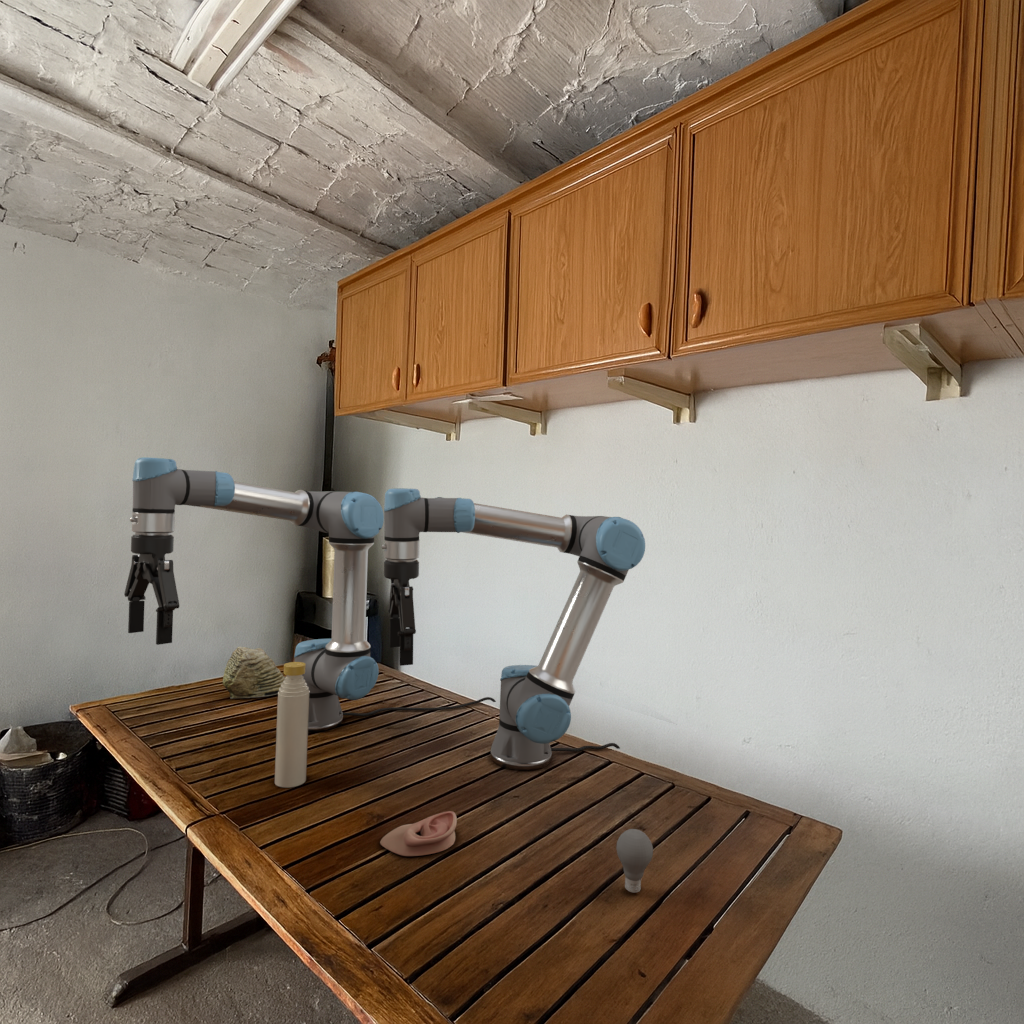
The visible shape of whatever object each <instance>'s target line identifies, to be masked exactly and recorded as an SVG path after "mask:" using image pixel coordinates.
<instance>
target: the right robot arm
mask: <svg viewBox="0 0 1024 1024" xmlns="http://www.w3.org/2000/svg"><path fill="white" fill-rule="evenodd" d="M383 514H384V522H383V529H384V530H383V535H384V536H383V538H384V539H383V540H384V541H383V542H384V544H381V549H382V550H384V551H383V553H384V554H383V557H384V558H385V561H384V562H383V576H384V578H386V579H388V580H390V589H389V598H388V599H389V601H388V608H387V612H388V616H389V648H399V666H400V667H401V666H402V667H403V666H412V665H414V635H415V634H416V633H417V629H416V619H415V618H416V617H415V607H414V587H413V586H412V585H411V586H410V580H414V579H417V578H418V577H419V575H420V561H419V560H418V559H419V558H420V543H421V542H420V541H421V540H420V533H456V534H460V533H463V534H469V535H475V536H481V537H488V538H495V539H502V540H507V541H513V542H520V543H525V544H526V543H527V544H533V545H538V546H543V547H544V546H545V547H552V548H557V550H558V551H559V553H563V554H569V555H573V556H576V557H578V559H577V561H576V562H577V565H578V568H579V573H578V575H577V578H576V580H575V581H574V584H573V587H572V589H571V591H570V593H569V596H568V598H567V600H566V602H565V605H564V607H563V609H562V611H561V614H560V616H559V618H558V621H557V623H556V625H555V627H554V629H553V632H552V634H551V636H550V639H549V641H548V643H547V645H546V648H545V650H544V652H543V653H542V657H541V659H540V661H539V663H538V665H533V664H514V665H508V666H505V667H503V668H502V669H501V673H500V674H501V675H500V693H499V717H498V718H499V719H498V727H497V730H496V733H495V736H494V739H493V741H492V744H491V746H490V756H489V757H490V760H491V762H493V763H494V764H495V765H497V766H500V767H502V768H504V769H508V770H514V771H534V770H539V769H542V768H545V767H547V766H549V765H550V763H551V762H552V753H553V752H569V753H576V752H581V751H584V750H596V751H597V750H599V751H600V750H605V749H608V748H610V747H614V748H615V749H618V750H619V749H621V747H620V746H619V744H617V743H615V742H609V743H607V744H603V745H599V746H598V745H583V746H580V747H576V748H575V747H574V748H573V747H572V748H571V747H551V745H550V744H551V743H553V742H555V741H558V740H559V739H560V738H562V737H563V736H565V734H566V733H567V731H568V730H569V727H570V725H571V723H572V722H571V721H572V713H571V708H570V705H571V703H572V701H573V699H574V696H575V694H576V689H575V687H574V683H573V682H574V679H575V677H576V675H577V672H578V671H579V668H580V665H581V663H582V661H583V659H584V657H585V654H586V651H587V649H588V647H589V646H590V642H591V641H592V638H593V636H594V633H595V631H596V629H597V626H598V624H599V622H600V620H601V617H602V615H603V612H604V610H605V609H606V606H607V604H608V601H609V599H610V597H611V595H612V592H613V590H614V588H615V587H616V586H618V585H620V584H623V583H624V582H625V580H626V578H627V575H628V572H629V571H630V570H631V569H634V568H635V567H637V566H638V565H639V564H640V563H641V561H642V559H643V558H644V556H645V552H646V539H645V537H644V534H643V531H642V529H640V527H639V526H638V525H637V524H636V523H635V522H633V521H631V520H629V519H627V518H624V517H620V516H606V515H590V516H589V515H587V516H586V515H585V516H584V515H573V514H564V515H563V516H561V517H560V516H554V515H547V514H540V513H537V512H529V511H523V510H518V509H517V510H516V509H512V508H505V507H500V506H494V505H488V504H482V503H475V502H474V501H473V500H472V499H471V498H465V497H464V498H462V497H442V496H437V497H422V496H421V492H420V490H419V489H417V488H408V487H407V488H403V487H400V488H398V487H397V488H395V487H394V488H393V487H392V488H389V489H387V490H386V491H385V493H384V508H383Z"/></svg>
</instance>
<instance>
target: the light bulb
mask: <svg viewBox="0 0 1024 1024" xmlns="http://www.w3.org/2000/svg"><path fill="white" fill-rule="evenodd" d="M615 849H616V854H617V857H618V859H619V861H620V863H621V865H622V867H623V873H624V874H623V875H624V876H625V878H624V888H625V890H627V891H628V892H630V893H634V894H635V893H639V892H640V891H641V889H642V887H641V886H642V879H643V877H644V875H645V871H646V868H647V867H648V866H649V864H650V863H651V861H652V859H653V855H654V847H653V843H652V841H651V838H649V836H648V835H647V834H646V833H645V832H643V831H642V830H641V829H636V828H629V829H627V830H625V831H623V832H622V833H621V834H620V835H619V837H618V839H617V841H616V847H615Z"/></svg>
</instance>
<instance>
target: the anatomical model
mask: <svg viewBox="0 0 1024 1024" xmlns="http://www.w3.org/2000/svg"><path fill="white" fill-rule="evenodd" d="M457 824H458V818H457V814H456V813H455V812H454V811H453V810H447V811H442V812H440V813H436V814H433V815H431V816H428V817H426V818H424V819H422V820H419V821H417V822H414V823H407V824H402V825H400V826H398V827H395V828H394V829H392V830H391V831H388V833H387V834H385V835H384V836H383V837H382V838H381V839H380V841H379V844H380V846H382V848H384V849H386V850H388V851H389V852H391V853H394V854H396V855H398V856H401V857H418V856H426V855H431V854H432V855H433V854H436V853H440V852H443V851H445V850H447V849H450V847H452V846H453V845H454V844H455V842H456V832H455V830H456V828H457Z"/></svg>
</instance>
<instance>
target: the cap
mask: <svg viewBox="0 0 1024 1024" xmlns="http://www.w3.org/2000/svg"><path fill="white" fill-rule="evenodd" d="M305 668H306V664H305V663H303V662H295V661H290V662H286V663H284V664H283V675H284V676H286V675H288V676H297V675H302V674H304V673H305Z"/></svg>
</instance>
